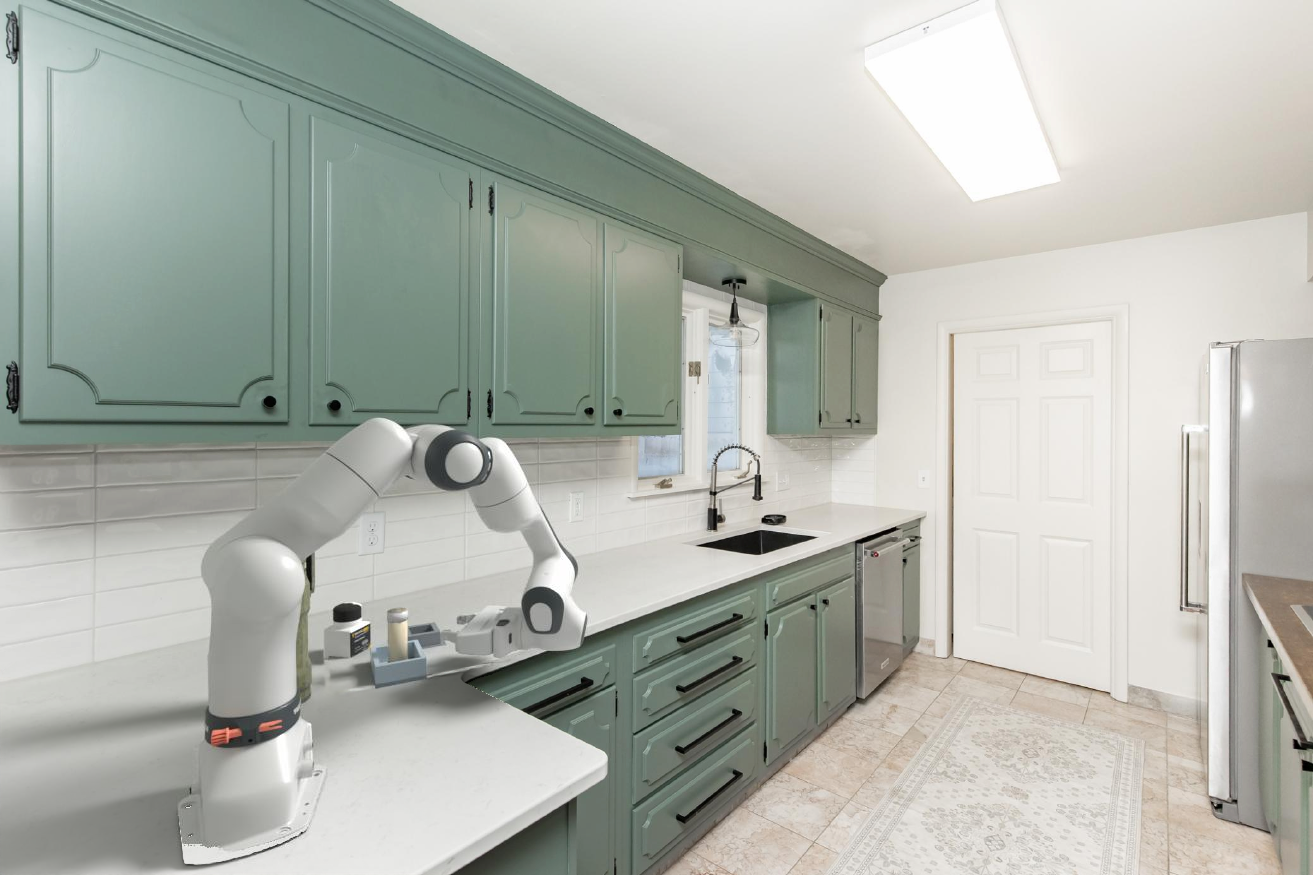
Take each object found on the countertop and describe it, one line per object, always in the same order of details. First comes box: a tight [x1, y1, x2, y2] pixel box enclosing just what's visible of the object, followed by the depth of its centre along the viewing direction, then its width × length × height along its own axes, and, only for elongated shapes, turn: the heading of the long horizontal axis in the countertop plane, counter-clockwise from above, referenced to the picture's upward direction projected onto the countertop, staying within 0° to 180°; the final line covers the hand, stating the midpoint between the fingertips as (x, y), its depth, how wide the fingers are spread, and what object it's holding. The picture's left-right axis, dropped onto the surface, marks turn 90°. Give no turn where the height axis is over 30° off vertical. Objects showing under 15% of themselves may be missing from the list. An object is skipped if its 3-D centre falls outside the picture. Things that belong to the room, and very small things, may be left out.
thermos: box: [296, 551, 316, 705], centre depth 121 cm, size 9×12×35 cm
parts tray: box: [369, 640, 427, 689], centre depth 135 cm, size 12×10×4 cm
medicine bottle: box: [323, 601, 372, 660], centre depth 144 cm, size 7×7×12 cm
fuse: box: [386, 607, 409, 663], centre depth 135 cm, size 4×4×13 cm
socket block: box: [408, 621, 447, 650], centre depth 151 cm, size 10×10×4 cm
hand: (449, 626), depth 134 cm, fingers open, 8 cm apart
